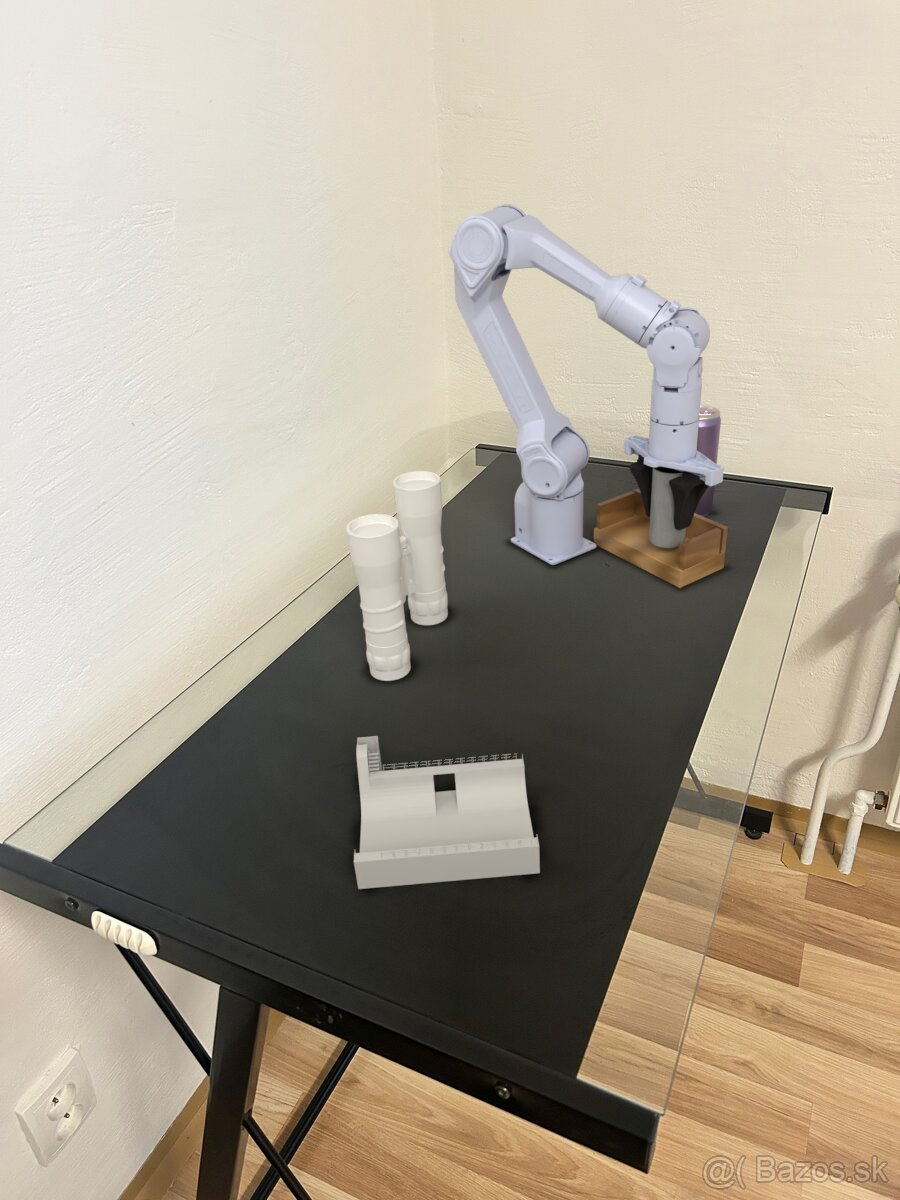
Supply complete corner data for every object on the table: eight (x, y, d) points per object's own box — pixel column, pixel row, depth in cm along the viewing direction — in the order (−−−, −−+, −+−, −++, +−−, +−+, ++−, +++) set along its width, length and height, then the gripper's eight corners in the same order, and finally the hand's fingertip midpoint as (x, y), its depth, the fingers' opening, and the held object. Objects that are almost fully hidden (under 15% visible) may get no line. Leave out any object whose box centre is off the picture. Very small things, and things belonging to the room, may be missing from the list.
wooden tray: (593, 543, 122) (594, 504, 119) (635, 526, 125) (637, 488, 122) (679, 588, 110) (683, 546, 107) (723, 568, 114) (728, 527, 111)
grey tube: (664, 551, 111) (669, 475, 106) (641, 538, 114) (645, 464, 109) (692, 542, 113) (698, 467, 107) (669, 529, 116) (674, 456, 111)
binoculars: (417, 601, 112) (404, 468, 102) (457, 606, 110) (447, 472, 100) (358, 678, 98) (336, 534, 89) (403, 686, 96) (385, 539, 87)
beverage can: (713, 520, 125) (723, 419, 118) (670, 519, 127) (677, 418, 119) (711, 502, 130) (720, 404, 123) (669, 501, 132) (676, 404, 124)
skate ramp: (358, 889, 72) (350, 845, 70) (363, 778, 84) (357, 737, 81) (539, 873, 73) (538, 828, 70) (520, 765, 84) (519, 723, 81)
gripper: (607, 411, 109) (605, 511, 116) (697, 442, 98) (688, 550, 105) (649, 397, 112) (644, 496, 119) (740, 426, 101) (728, 532, 108)
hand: (667, 520), depth 112 cm, fingers closed on grey tube, 4 cm apart
